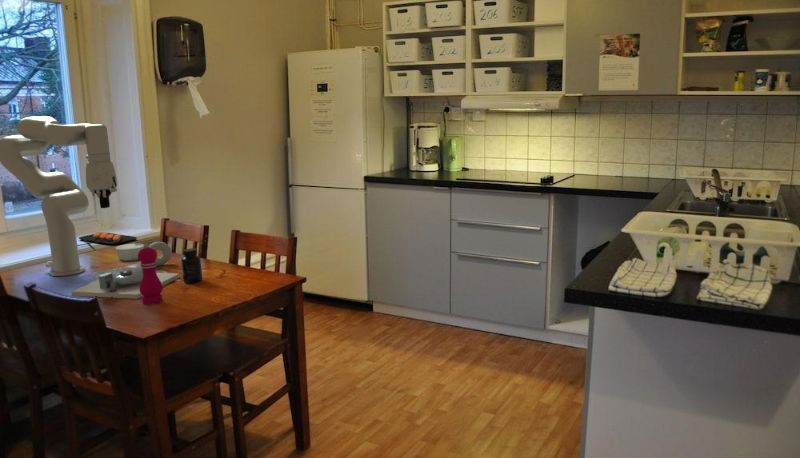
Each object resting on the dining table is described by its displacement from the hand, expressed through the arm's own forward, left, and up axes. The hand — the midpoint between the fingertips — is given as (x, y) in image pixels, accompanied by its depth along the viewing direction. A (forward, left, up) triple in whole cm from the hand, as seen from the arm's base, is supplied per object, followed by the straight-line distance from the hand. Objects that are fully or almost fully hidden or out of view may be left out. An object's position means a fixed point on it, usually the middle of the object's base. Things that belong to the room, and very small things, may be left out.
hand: (105, 207), depth 246 cm
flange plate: (+13, -12, -24) cm, 30 cm away
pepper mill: (+33, -25, -27) cm, 50 cm away
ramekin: (-12, +28, -27) cm, 41 cm away
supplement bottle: (+34, -1, -27) cm, 44 cm away
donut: (+8, +18, -27) cm, 34 cm away
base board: (+13, -10, -27) cm, 32 cm away
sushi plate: (-49, +51, -28) cm, 76 cm away
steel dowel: (+15, -21, -26) cm, 36 cm away
